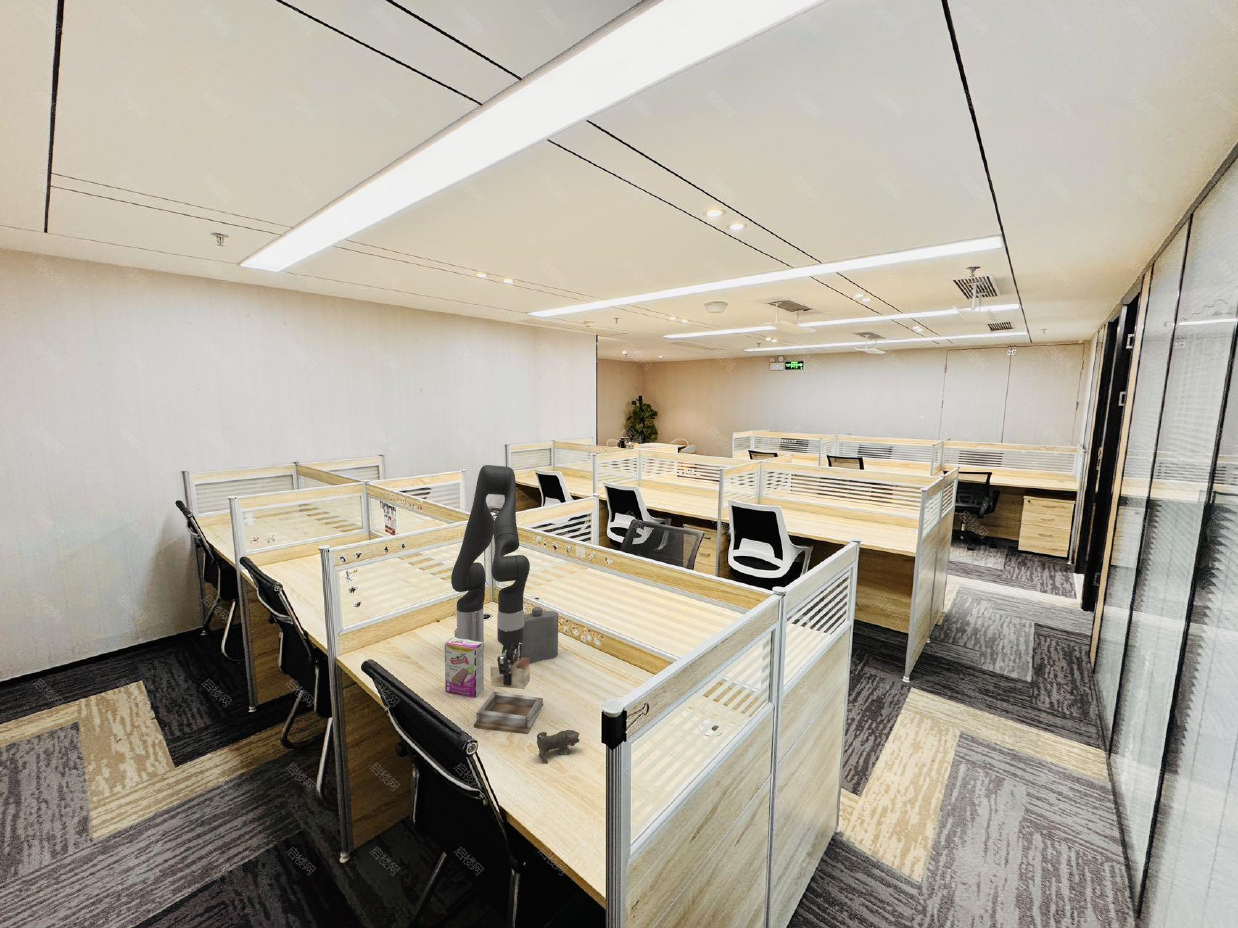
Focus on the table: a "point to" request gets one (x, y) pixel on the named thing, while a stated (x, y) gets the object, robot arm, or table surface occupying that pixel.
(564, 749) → the dog figurine
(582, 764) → the table surface
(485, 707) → the tray
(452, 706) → the table surface
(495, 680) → the fuselage block
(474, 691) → the candy bar box
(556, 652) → the flask
